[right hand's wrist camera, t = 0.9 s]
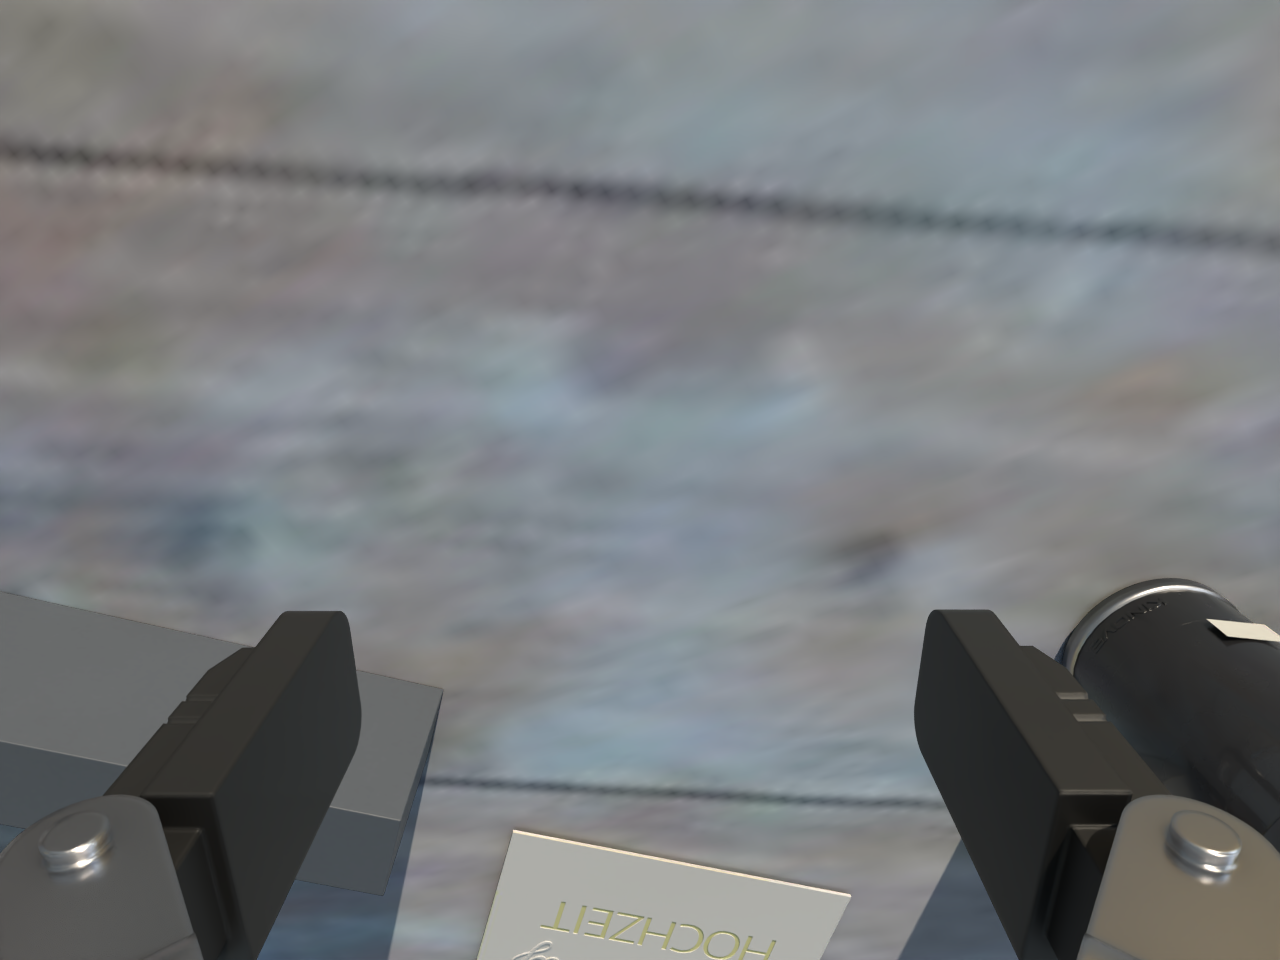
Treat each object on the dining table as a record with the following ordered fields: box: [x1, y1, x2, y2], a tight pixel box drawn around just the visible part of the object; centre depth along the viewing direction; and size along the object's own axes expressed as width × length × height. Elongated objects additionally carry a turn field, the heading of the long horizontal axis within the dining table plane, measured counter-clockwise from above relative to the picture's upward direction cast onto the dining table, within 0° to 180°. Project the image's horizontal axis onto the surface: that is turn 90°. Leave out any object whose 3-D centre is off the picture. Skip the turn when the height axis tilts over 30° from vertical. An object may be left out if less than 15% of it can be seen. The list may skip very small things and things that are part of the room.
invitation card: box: [477, 830, 851, 960], centre depth 53 cm, size 21×1×15 cm
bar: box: [0, 592, 443, 896], centre depth 40 cm, size 28×5×10 cm, turn 74°
